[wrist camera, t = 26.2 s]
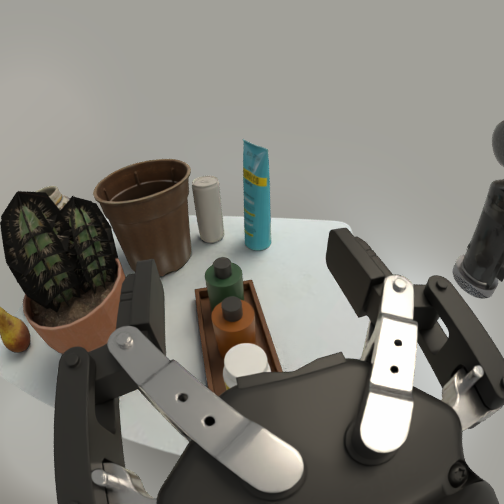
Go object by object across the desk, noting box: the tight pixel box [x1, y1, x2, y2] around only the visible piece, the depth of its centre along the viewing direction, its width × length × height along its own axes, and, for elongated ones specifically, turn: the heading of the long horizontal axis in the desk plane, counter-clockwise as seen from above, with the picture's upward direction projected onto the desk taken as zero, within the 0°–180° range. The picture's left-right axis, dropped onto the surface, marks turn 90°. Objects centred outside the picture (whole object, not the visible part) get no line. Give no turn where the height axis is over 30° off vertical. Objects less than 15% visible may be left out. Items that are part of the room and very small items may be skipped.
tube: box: [243, 139, 271, 251], centre depth 49 cm, size 7×5×19 cm, turn 35°
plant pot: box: [93, 159, 191, 276], centre depth 47 cm, size 16×16×16 cm
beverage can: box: [192, 176, 224, 243], centre depth 53 cm, size 5×5×12 cm
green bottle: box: [205, 257, 244, 311], centre depth 39 cm, size 5×5×9 cm
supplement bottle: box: [223, 343, 271, 390], centre depth 28 cm, size 5×5×8 cm
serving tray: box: [195, 280, 283, 397], centre depth 36 cm, size 21×9×2 cm, turn 13°
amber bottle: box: [211, 296, 256, 359], centre depth 33 cm, size 5×5×9 cm
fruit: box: [0, 307, 30, 352], centre depth 31 cm, size 6×6×12 cm
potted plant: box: [0, 191, 125, 353], centre depth 28 cm, size 14×14×25 cm
